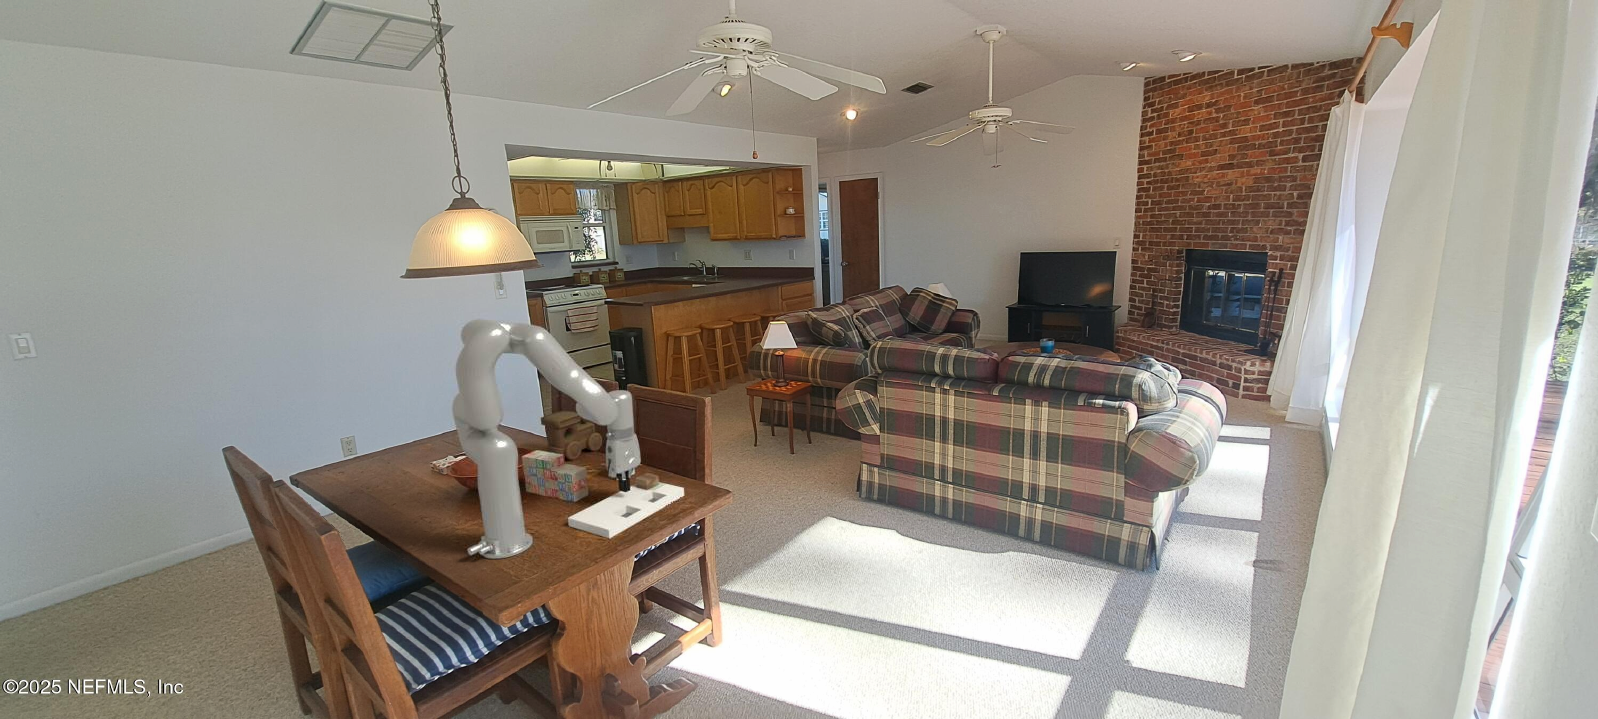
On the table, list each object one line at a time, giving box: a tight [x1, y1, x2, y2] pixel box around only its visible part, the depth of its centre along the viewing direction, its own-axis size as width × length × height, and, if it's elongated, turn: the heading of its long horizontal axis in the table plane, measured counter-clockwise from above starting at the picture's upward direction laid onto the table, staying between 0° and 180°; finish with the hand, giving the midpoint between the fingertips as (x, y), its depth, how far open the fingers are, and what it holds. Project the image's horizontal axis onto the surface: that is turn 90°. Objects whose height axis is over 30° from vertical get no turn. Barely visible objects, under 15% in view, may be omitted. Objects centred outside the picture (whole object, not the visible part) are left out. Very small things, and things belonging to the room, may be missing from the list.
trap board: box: [567, 481, 685, 539], centre depth 186 cm, size 31×16×2 cm, turn 150°
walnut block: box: [634, 472, 660, 490], centre depth 196 cm, size 5×5×3 cm
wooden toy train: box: [540, 410, 603, 461], centre depth 233 cm, size 20×11×17 cm, turn 151°
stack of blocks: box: [521, 450, 589, 503], centre depth 198 cm, size 21×6×12 cm, turn 63°
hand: (624, 490), depth 189 cm, fingers closed
